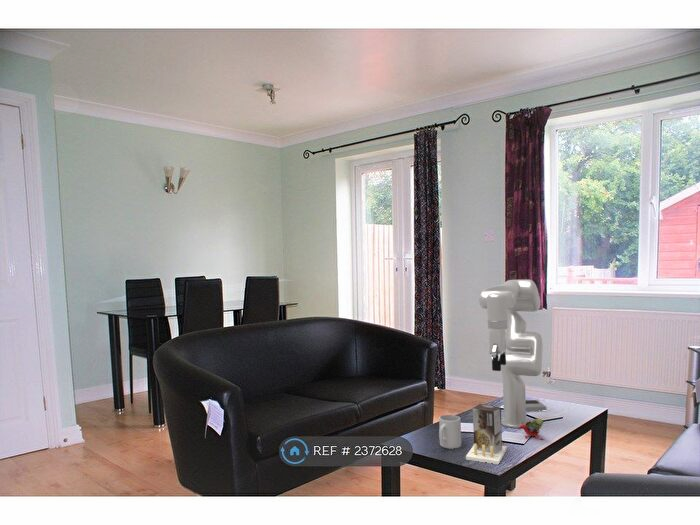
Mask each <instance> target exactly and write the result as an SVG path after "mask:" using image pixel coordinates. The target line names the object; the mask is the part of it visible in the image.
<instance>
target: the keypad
mask: <svg viewBox="0 0 700 525" xmlns="http://www.w3.org/2000/svg"><path fill="white" fill-rule="evenodd" d="M539 410H548V409H547V406H546V405H544V403H543V402H541V401H540V400H538V399H526V411H535V412H540V411H539Z"/></svg>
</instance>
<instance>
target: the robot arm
mask: <svg viewBox="0 0 700 525" xmlns="http://www.w3.org/2000/svg"><path fill="white" fill-rule="evenodd" d="M478 297H479V298H478V303H479V305H480V307H481V308H482V309H485V310H487V329H488V330H489V335H488V336H489V338H488V348H489V349H488V353H489V355H491V370H492V371H493V372H494V371H495V372H501V375H502V376H501V377H502V393H503V394H502V396H503V397H502V398H503V399H502V401H503V404H502V405H503V417H501V426H504V427H507V428H514V429H520V428H519V427H520V426H522V422H523V425H526V423H527V421H530V420H528V419H527V412H526V400H527V398H526V383H525V381H524V380H523V379H522V377H521V376H524V377H525V376H526V377H527V376H528V377H538V376H540V375H541V373H542V368H543V367H542V366H543V345H544V344H543V338H542V335H541V333H539V332H536V331H526V329H527V322H526V320H525V318H523V316H522V315H521V314H520V313H519V312H529V313H530V312H537V311H539V310H540V308H541V297H540V294H539V290H538V287H537V285H536V283H535V281H533V280H532V279H508V280H506V281H504V282H503V284H499V285H494V286H489V287H486V288H484V289H483V290H482V291H480V294H479V296H478ZM506 350H508V352H506Z"/></svg>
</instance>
